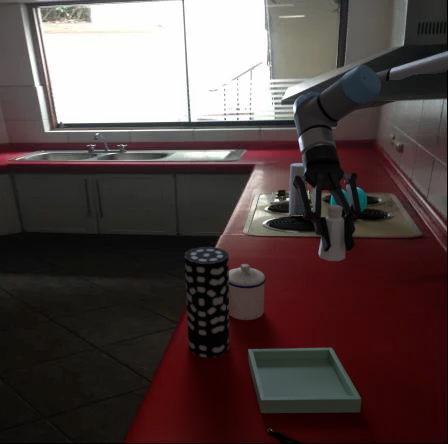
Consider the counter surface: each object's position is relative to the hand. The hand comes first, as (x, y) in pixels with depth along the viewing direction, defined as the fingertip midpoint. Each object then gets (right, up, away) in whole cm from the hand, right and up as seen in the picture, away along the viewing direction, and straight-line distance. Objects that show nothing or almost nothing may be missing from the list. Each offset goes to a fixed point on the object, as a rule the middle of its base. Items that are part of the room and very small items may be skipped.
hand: (339, 248), depth 83 cm
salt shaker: (0, -2, +5) cm, 5 cm away
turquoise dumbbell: (+37, +8, +79) cm, 88 cm away
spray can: (+18, +8, +81) cm, 83 cm away
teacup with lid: (-17, -16, +15) cm, 27 cm away
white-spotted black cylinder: (-26, -20, +2) cm, 33 cm away
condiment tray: (-12, -23, -10) cm, 28 cm away
